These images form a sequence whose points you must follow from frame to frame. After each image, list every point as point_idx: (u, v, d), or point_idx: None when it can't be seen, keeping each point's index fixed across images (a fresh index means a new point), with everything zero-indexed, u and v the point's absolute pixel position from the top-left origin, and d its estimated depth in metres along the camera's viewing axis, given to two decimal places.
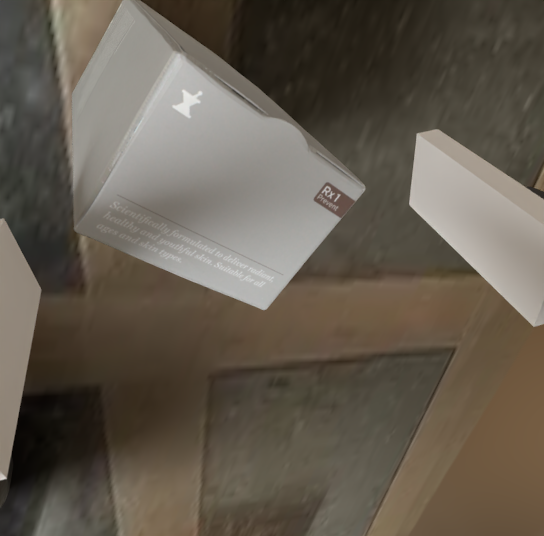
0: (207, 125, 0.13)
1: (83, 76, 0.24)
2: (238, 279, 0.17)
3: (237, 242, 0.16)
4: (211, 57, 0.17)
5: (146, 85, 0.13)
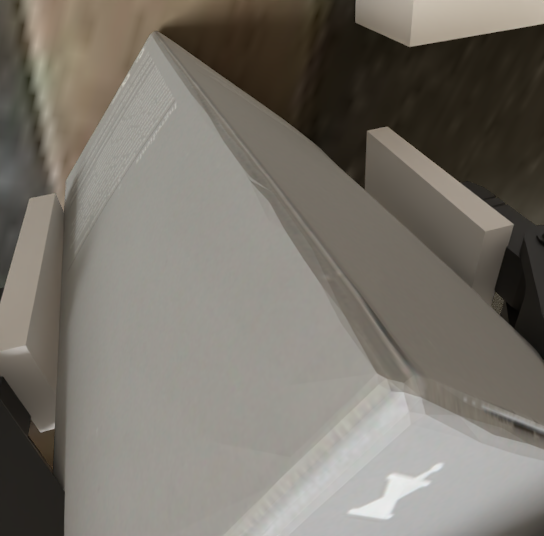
0: (427, 516, 0.05)
1: (83, 160, 0.15)
2: None
3: None
4: (339, 195, 0.08)
5: (255, 411, 0.04)
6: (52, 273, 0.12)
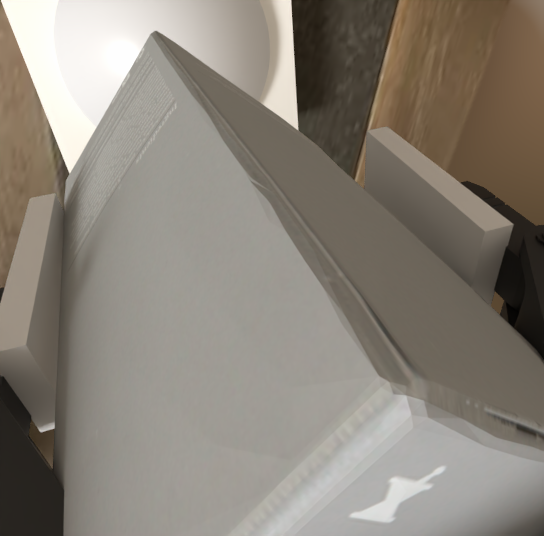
0: (430, 519, 0.05)
1: (83, 160, 0.15)
2: None
3: None
4: (339, 195, 0.08)
5: (255, 414, 0.04)
6: (52, 273, 0.12)
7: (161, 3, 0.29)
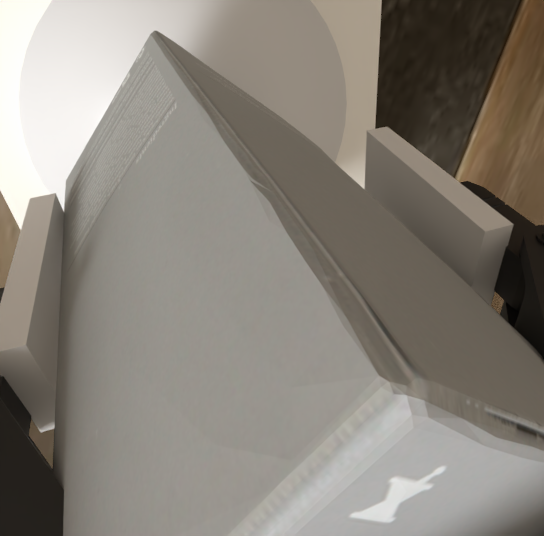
0: (431, 518, 0.05)
1: (83, 160, 0.15)
2: None
3: None
4: (340, 195, 0.08)
5: (256, 414, 0.04)
6: (52, 273, 0.12)
7: None
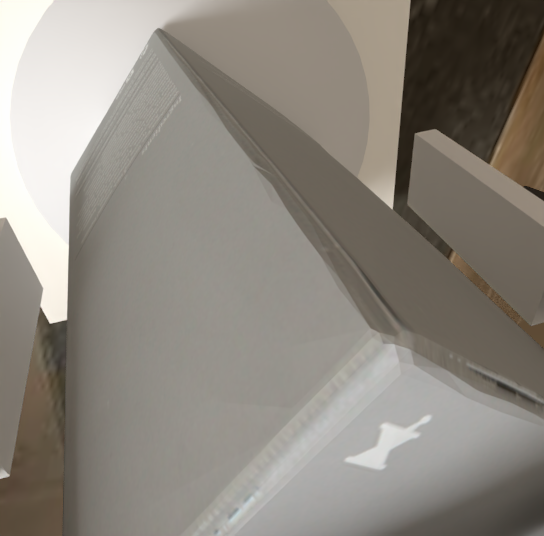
0: (419, 469, 0.05)
1: (87, 154, 0.16)
2: None
3: None
4: (337, 183, 0.09)
5: (260, 371, 0.05)
6: None
7: None
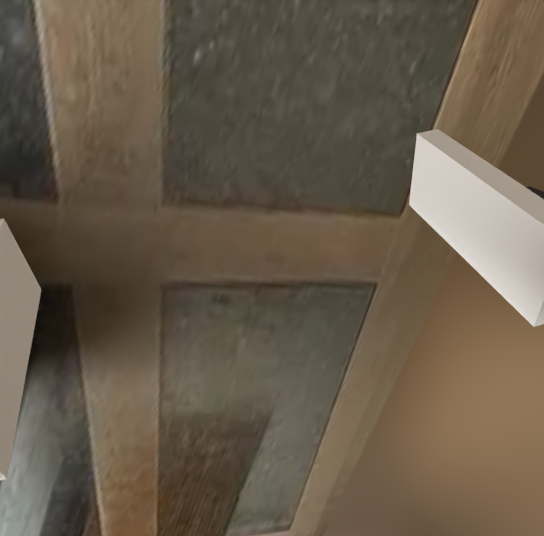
0: None
1: None
2: None
3: None
4: None
5: None
6: None
7: None
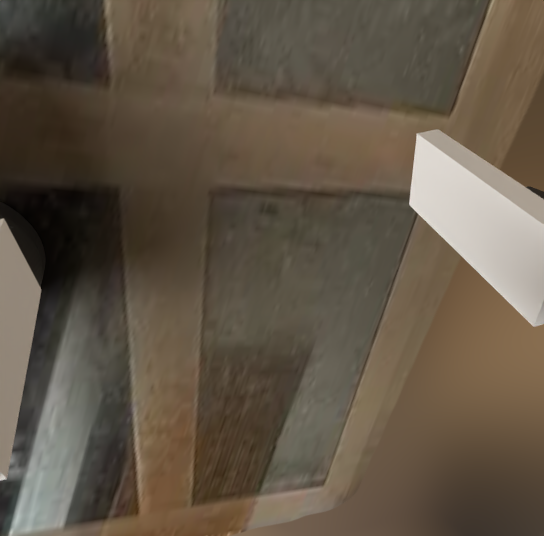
0: None
1: None
2: None
3: None
4: None
5: None
6: None
7: None
